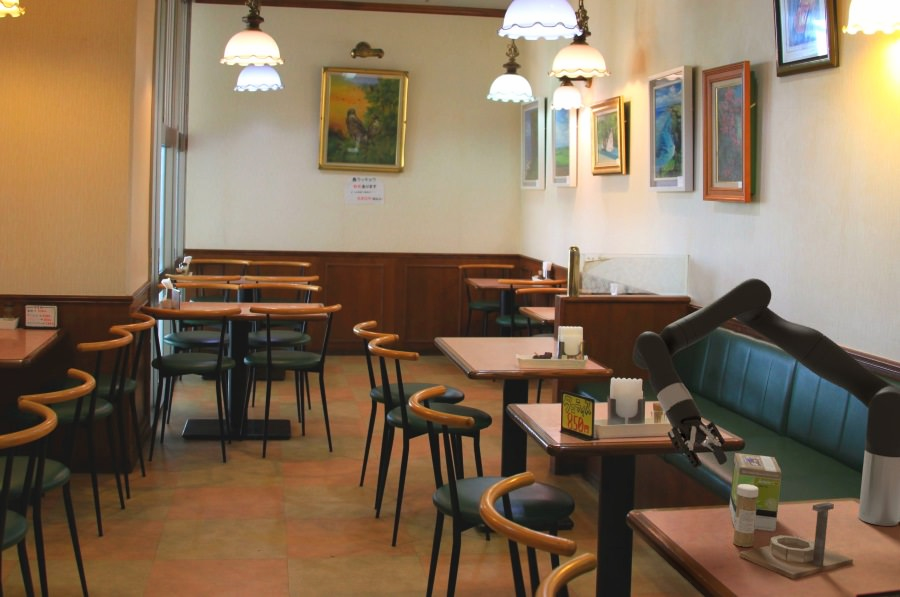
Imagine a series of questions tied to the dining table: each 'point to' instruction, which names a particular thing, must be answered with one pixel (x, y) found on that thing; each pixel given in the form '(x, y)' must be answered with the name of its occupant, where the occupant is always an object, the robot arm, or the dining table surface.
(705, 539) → the dining table surface
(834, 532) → the dining table surface
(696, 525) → the dining table surface
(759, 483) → the tea box
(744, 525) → the sprinkles bottle
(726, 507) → the dining table surface
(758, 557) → the socket base
